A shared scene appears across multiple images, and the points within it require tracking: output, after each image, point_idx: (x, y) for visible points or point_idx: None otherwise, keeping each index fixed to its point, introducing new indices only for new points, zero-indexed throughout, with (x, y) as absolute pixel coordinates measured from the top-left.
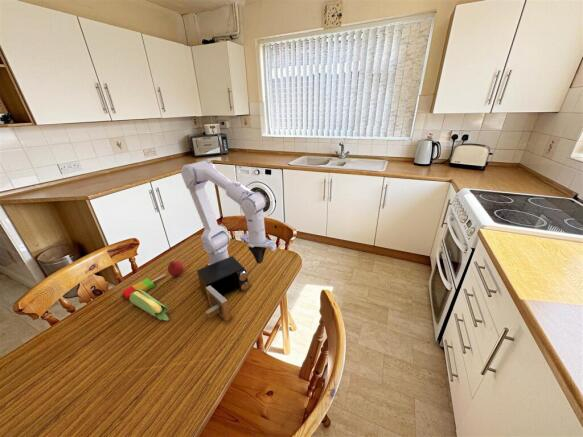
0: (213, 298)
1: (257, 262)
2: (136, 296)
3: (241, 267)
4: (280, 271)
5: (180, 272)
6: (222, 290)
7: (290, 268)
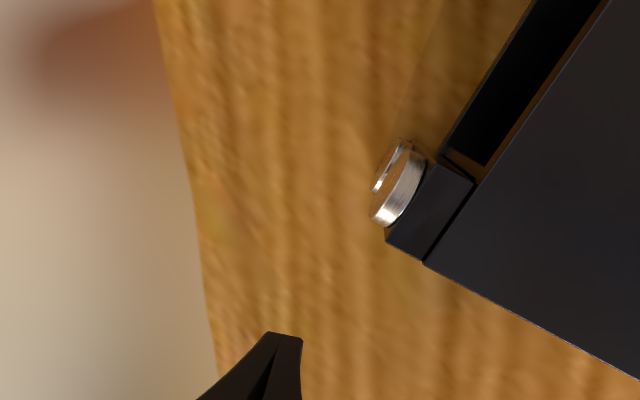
0: None
1: (286, 339)
2: None
3: (452, 260)
4: None
5: None
6: (538, 87)
7: None
